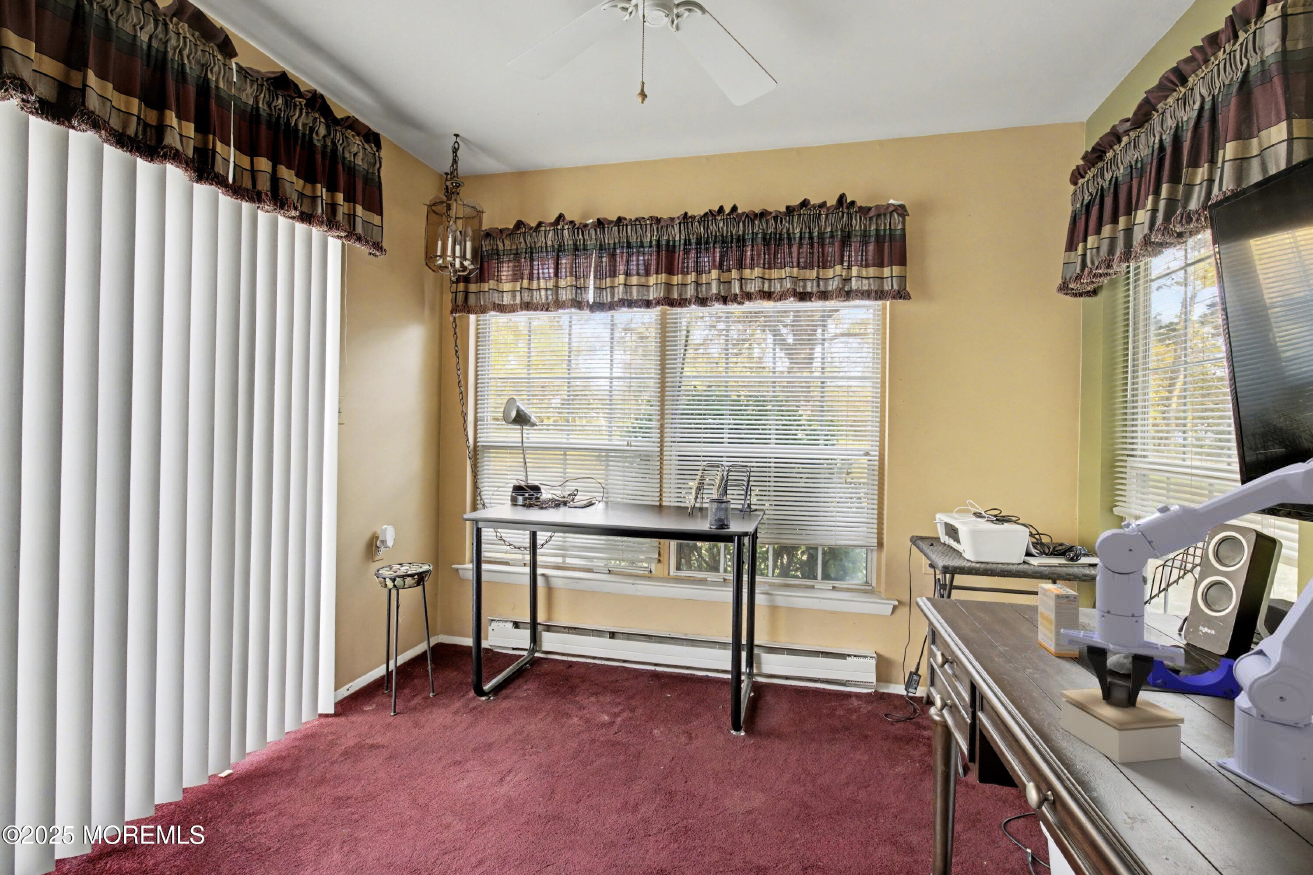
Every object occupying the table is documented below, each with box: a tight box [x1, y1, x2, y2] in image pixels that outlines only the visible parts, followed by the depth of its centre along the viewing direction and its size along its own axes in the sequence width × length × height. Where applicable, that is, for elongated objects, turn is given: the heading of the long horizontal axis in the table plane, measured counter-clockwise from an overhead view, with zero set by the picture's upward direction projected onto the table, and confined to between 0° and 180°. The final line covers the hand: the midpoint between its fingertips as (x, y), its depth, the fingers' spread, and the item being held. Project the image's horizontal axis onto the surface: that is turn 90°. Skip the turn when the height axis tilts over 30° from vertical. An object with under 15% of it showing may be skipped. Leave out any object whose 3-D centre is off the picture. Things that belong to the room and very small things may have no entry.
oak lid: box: [1059, 679, 1185, 729], centre depth 90 cm, size 10×10×4 cm
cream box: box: [1060, 698, 1182, 764], centre depth 90 cm, size 10×10×4 cm
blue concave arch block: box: [1146, 657, 1241, 699], centre depth 108 cm, size 12×4×6 cm, turn 64°
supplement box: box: [1037, 583, 1080, 659], centre depth 126 cm, size 8×5×13 cm, turn 168°
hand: (1118, 701), depth 90 cm, fingers closed on oak lid, 3 cm apart
